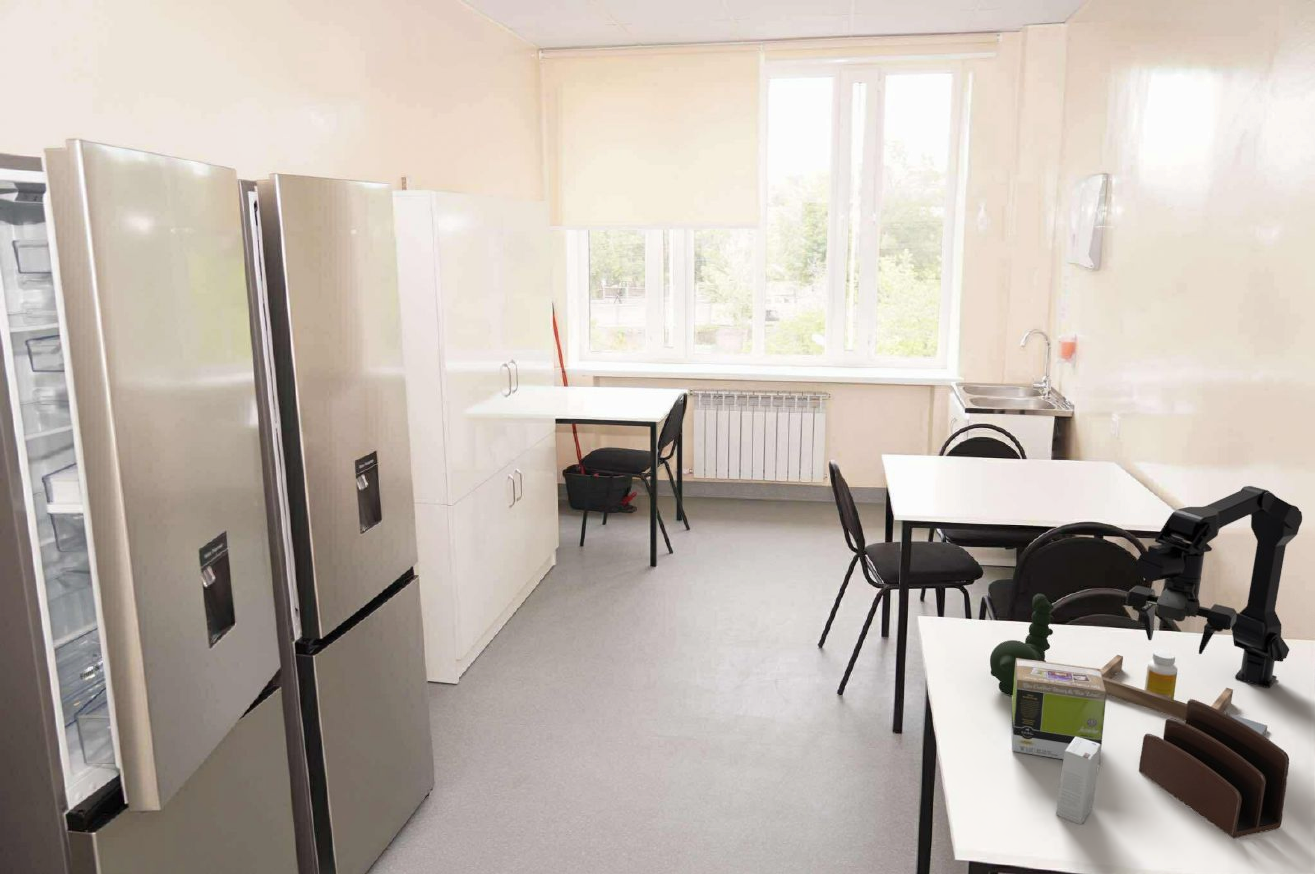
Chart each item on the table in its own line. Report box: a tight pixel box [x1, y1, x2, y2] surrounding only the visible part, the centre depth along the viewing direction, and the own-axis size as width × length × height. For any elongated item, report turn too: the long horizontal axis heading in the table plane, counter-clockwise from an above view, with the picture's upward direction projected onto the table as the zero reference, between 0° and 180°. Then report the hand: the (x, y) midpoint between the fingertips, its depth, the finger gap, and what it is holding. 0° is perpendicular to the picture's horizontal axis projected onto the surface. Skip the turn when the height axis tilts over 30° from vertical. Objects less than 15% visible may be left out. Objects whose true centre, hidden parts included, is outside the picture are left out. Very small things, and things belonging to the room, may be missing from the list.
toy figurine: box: [989, 593, 1055, 697], centre depth 195 cm, size 9×19×25 cm
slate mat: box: [1225, 712, 1268, 736], centre depth 178 cm, size 10×7×1 cm
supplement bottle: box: [1144, 649, 1178, 700], centre depth 190 cm, size 5×5×10 cm
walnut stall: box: [1099, 654, 1234, 721], centre depth 192 cm, size 14×22×3 cm, turn 45°
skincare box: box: [1055, 737, 1102, 825], centre depth 152 cm, size 6×4×12 cm
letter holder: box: [1138, 698, 1290, 839], centre depth 156 cm, size 10×20×14 cm, turn 16°
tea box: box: [1010, 658, 1107, 765], centre depth 171 cm, size 15×10×15 cm, turn 71°
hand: (1174, 646), depth 187 cm, fingers open, 9 cm apart
